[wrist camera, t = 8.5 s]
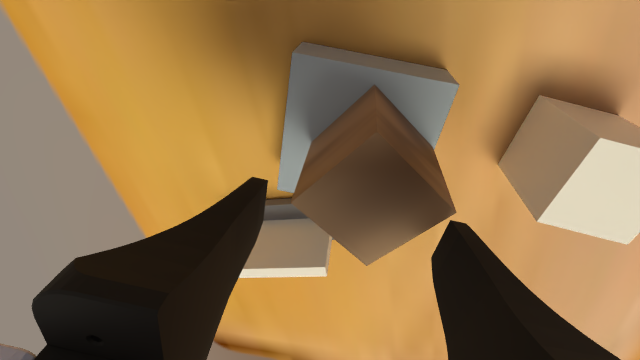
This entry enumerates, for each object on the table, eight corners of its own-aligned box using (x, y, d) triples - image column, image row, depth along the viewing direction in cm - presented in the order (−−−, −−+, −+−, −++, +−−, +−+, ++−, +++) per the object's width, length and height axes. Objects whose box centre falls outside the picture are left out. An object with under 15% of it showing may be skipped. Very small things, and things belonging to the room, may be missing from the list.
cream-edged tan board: (330, 195, 25) (321, 250, 20) (337, 232, 26) (329, 291, 22) (242, 201, 26) (213, 253, 21) (254, 236, 28) (230, 292, 23)
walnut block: (432, 146, 18) (456, 212, 13) (367, 193, 21) (366, 265, 16) (374, 84, 17) (377, 131, 12) (311, 142, 19) (290, 202, 14)
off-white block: (618, 115, 19) (707, 165, 14) (567, 182, 22) (627, 244, 17) (539, 94, 19) (600, 138, 14) (497, 164, 22) (536, 221, 17)
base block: (445, 68, 19) (459, 84, 16) (403, 186, 24) (407, 216, 21) (303, 40, 20) (292, 52, 17) (288, 163, 24) (277, 189, 21)
